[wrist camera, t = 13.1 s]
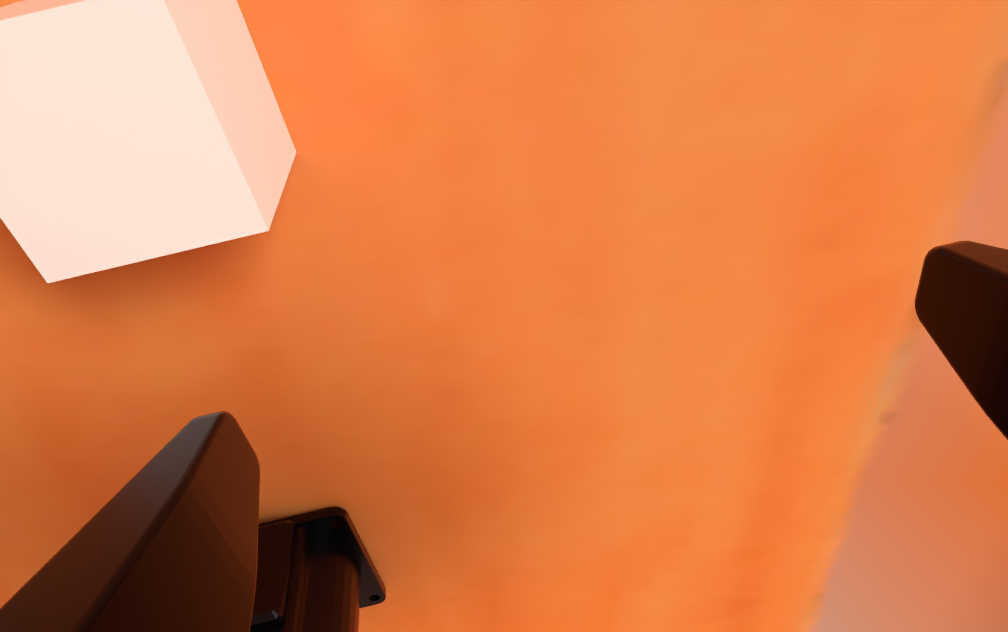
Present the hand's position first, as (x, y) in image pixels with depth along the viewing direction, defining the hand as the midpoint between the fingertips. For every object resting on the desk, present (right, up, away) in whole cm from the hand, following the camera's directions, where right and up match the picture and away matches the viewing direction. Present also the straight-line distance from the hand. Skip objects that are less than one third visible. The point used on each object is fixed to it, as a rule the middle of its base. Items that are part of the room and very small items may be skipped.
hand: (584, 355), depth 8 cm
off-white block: (-10, +7, +9) cm, 15 cm away
